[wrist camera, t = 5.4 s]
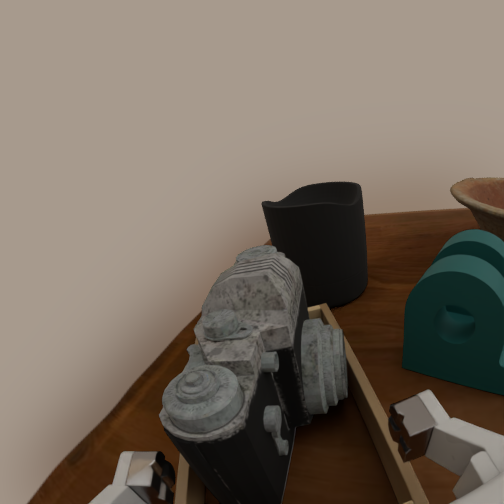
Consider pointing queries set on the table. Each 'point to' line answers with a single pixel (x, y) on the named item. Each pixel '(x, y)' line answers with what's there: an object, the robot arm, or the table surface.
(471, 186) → the bowl
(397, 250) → the table surface
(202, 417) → the camera
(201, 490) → the rectangular wooden frame
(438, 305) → the bracket
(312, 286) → the pen holder
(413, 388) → the table surface
